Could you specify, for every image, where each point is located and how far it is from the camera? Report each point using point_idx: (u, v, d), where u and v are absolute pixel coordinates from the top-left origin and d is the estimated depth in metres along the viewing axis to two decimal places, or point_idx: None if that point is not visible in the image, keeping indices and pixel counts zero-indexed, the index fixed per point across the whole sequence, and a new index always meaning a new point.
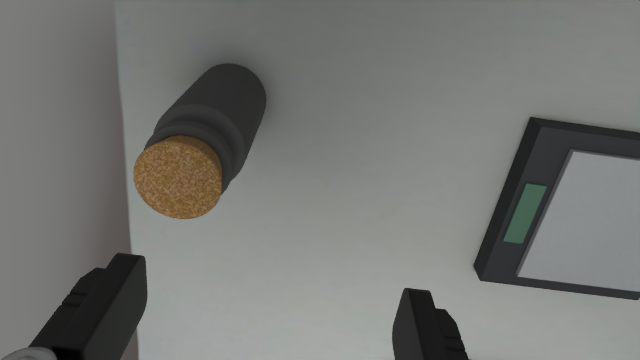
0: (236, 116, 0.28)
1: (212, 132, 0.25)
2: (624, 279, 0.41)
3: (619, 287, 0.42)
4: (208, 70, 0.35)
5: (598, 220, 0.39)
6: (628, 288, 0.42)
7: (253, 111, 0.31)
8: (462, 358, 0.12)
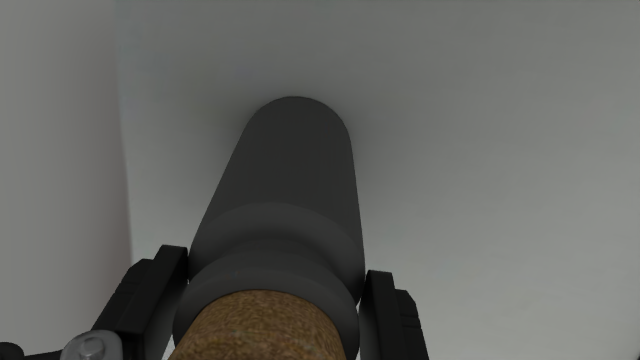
0: (348, 216, 0.14)
1: (325, 277, 0.11)
2: None
3: None
4: (265, 108, 0.22)
5: None
6: None
7: (355, 188, 0.18)
8: (417, 334, 0.12)
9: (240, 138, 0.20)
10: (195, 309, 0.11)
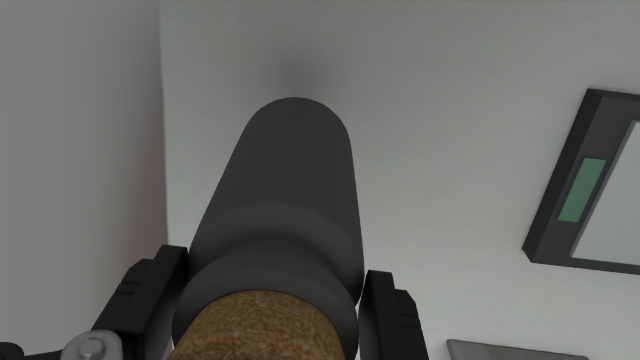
0: (347, 217, 0.14)
1: (324, 277, 0.11)
2: None
3: None
4: (264, 109, 0.22)
5: None
6: None
7: (355, 188, 0.18)
8: (417, 334, 0.12)
9: (240, 138, 0.21)
10: (194, 309, 0.11)
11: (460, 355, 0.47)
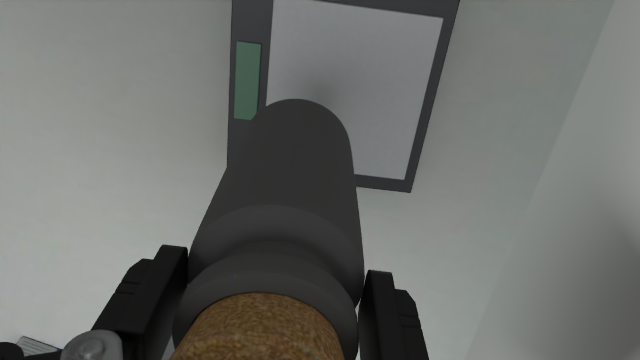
0: (347, 218, 0.14)
1: (324, 280, 0.11)
2: (382, 163, 0.36)
3: (379, 174, 0.37)
4: (264, 110, 0.22)
5: (330, 87, 0.34)
6: (390, 175, 0.37)
7: (355, 189, 0.18)
8: (417, 334, 0.12)
9: (240, 140, 0.21)
10: (194, 312, 0.11)
11: None
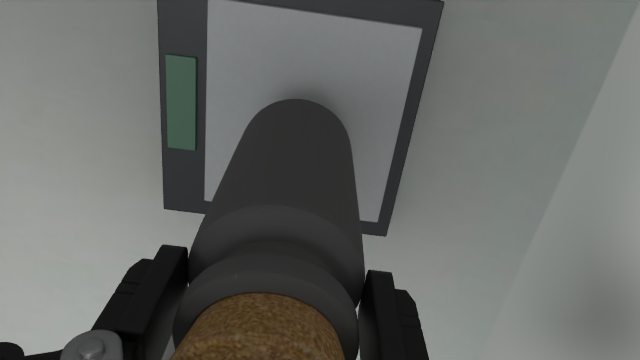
0: (347, 219, 0.14)
1: (324, 280, 0.11)
2: None
3: None
4: (265, 110, 0.22)
5: None
6: (360, 217, 0.30)
7: (355, 190, 0.18)
8: (417, 334, 0.12)
9: (240, 140, 0.21)
10: (195, 312, 0.11)
11: None
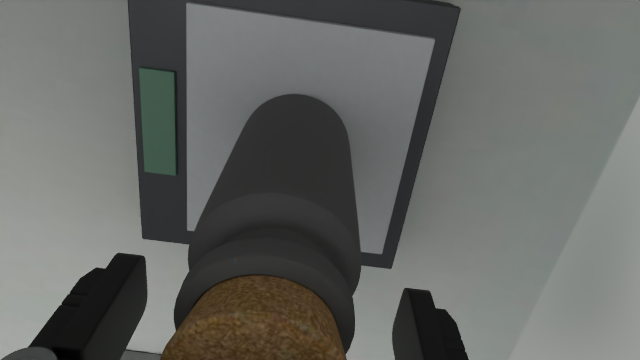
0: (344, 208, 0.15)
1: (321, 264, 0.12)
2: None
3: None
4: (264, 105, 0.22)
5: None
6: (363, 248, 0.27)
7: (352, 182, 0.18)
8: (462, 358, 0.12)
9: (240, 134, 0.21)
10: (196, 294, 0.12)
11: None
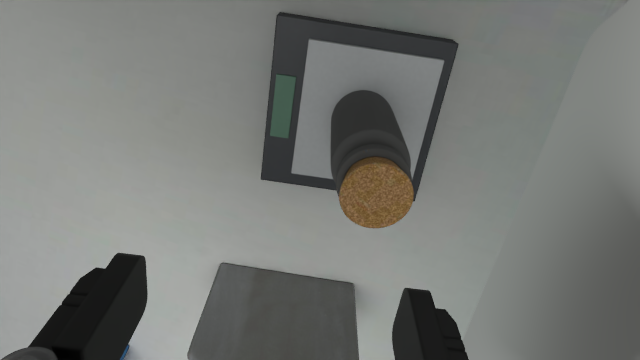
0: (403, 140, 0.32)
1: (399, 154, 0.29)
2: None
3: None
4: (348, 96, 0.39)
5: None
6: None
7: None
8: (462, 358, 0.12)
9: (337, 111, 0.38)
10: (349, 165, 0.29)
11: (224, 274, 0.51)
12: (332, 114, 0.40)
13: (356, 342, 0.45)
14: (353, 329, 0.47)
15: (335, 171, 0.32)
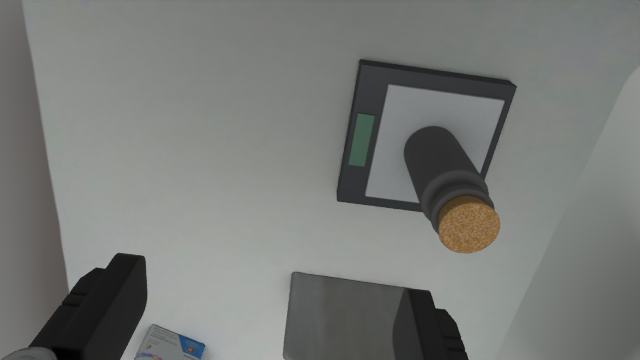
0: None
1: (485, 192, 0.35)
2: None
3: None
4: (421, 132, 0.45)
5: None
6: None
7: None
8: (462, 358, 0.12)
9: (413, 146, 0.44)
10: (444, 202, 0.35)
11: (297, 282, 0.57)
12: (406, 147, 0.46)
13: None
14: None
15: (425, 204, 0.38)
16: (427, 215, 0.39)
